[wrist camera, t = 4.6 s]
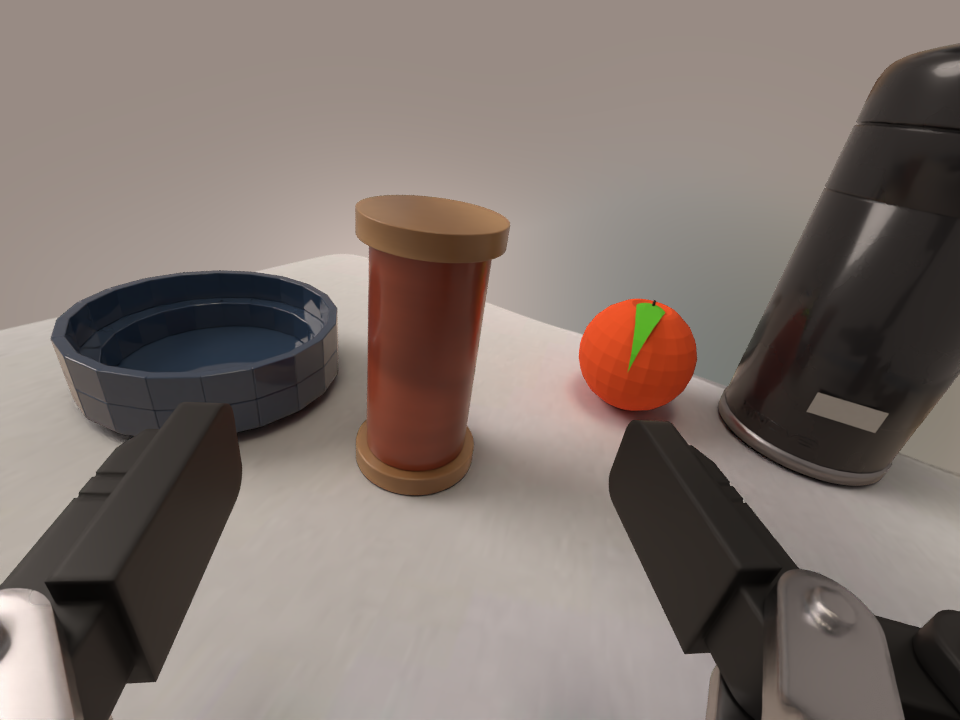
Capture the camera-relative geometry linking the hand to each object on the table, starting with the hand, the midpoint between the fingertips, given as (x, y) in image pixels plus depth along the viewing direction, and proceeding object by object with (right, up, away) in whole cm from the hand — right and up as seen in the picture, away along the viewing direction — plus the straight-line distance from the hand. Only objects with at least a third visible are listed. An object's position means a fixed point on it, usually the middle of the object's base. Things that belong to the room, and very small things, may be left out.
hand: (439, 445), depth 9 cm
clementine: (+10, -1, +20) cm, 23 cm away
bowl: (-14, +1, +17) cm, 22 cm away
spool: (-2, -3, +14) cm, 14 cm away
